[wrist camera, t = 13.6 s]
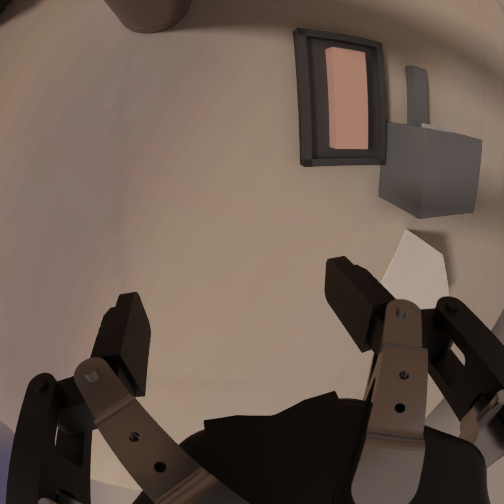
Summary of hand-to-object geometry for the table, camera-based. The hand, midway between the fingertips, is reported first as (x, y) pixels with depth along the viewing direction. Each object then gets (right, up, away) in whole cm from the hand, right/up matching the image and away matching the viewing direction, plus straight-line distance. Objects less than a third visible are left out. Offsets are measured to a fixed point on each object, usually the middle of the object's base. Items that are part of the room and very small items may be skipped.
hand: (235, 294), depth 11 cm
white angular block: (+31, -6, +41) cm, 51 cm away
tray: (+13, +23, +21) cm, 34 cm away
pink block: (+13, +22, +21) cm, 33 cm away
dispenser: (+27, +21, +25) cm, 42 cm away
